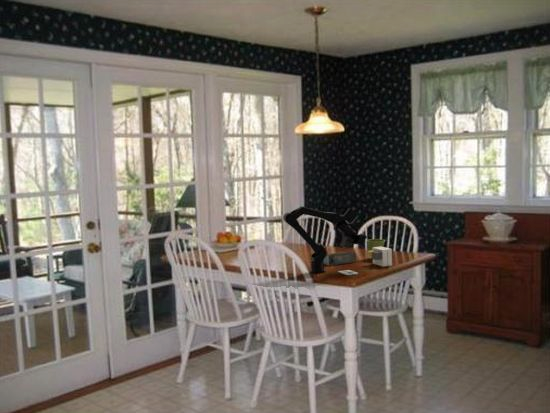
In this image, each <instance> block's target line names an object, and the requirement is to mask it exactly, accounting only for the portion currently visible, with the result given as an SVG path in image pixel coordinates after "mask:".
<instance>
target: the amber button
mask: <svg viewBox="0 0 550 413" xmlns="http://www.w3.org/2000/svg"><path fill="white" fill-rule="evenodd" d="M372 252H377V251H375V250H371V251H369V250H367V252H366V255H367V256H366V258H367V259H371V258H372ZM371 260H372V259H371Z"/></svg>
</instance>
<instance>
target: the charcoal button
mask: <svg viewBox="0 0 550 413" xmlns="http://www.w3.org/2000/svg"><path fill="white" fill-rule="evenodd" d="M373 259H374V260H380V259H382V252H372V259H371V260H373Z"/></svg>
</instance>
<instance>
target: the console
mask: <svg viewBox="0 0 550 413" xmlns="http://www.w3.org/2000/svg"><path fill="white" fill-rule="evenodd" d="M372 250H375V251H377V252H382V259H380V260H374V259H372V265H376V266H377V265H378V266H380V267H390V266H393V251H392V250H393V249H392V248H389V247H385V246H384V247H372Z"/></svg>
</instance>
